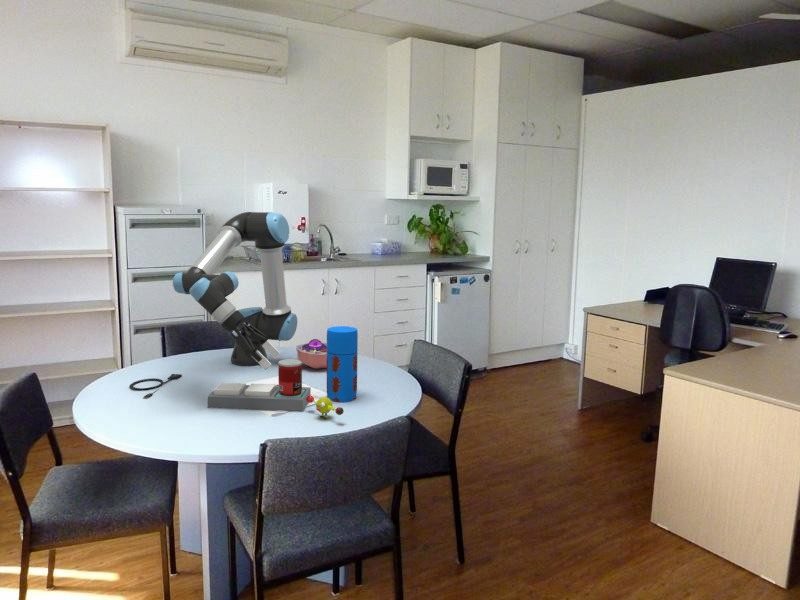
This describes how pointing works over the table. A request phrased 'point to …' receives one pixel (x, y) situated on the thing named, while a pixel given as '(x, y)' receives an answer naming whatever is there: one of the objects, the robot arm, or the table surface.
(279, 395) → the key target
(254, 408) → the keypad frame
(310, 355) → the cell model
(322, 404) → the toy figure
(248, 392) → the key middle
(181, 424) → the table surface
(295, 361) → the canned food
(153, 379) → the cable
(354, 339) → the thermos
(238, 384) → the key near
